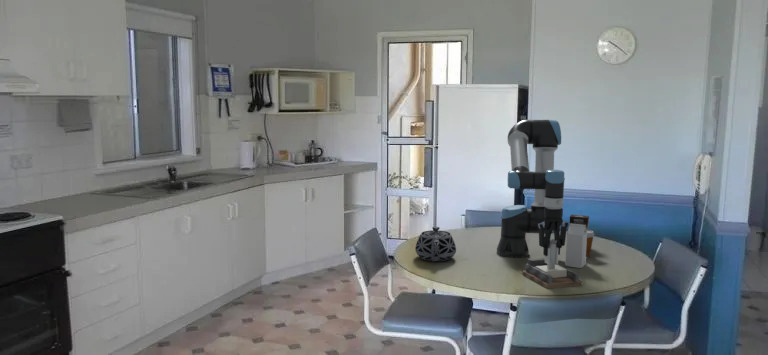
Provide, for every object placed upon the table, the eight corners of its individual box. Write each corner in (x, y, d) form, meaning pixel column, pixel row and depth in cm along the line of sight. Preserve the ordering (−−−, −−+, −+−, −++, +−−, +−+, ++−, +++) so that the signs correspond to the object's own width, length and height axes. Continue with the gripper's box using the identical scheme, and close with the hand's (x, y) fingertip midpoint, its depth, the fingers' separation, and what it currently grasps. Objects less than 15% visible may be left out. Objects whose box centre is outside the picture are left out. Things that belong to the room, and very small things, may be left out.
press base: (522, 274, 269) (522, 259, 268) (555, 271, 274) (555, 256, 273) (546, 288, 250) (547, 272, 249) (581, 285, 255) (582, 269, 254)
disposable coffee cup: (594, 258, 294) (595, 233, 293) (573, 257, 296) (574, 232, 295) (592, 253, 304) (593, 229, 302) (571, 252, 306) (572, 228, 304)
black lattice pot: (453, 249, 310) (454, 220, 308) (457, 267, 279) (458, 234, 277) (415, 249, 311) (415, 219, 309) (415, 266, 280) (415, 233, 278)
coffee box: (567, 247, 315) (569, 216, 313) (569, 244, 321) (570, 213, 319) (586, 249, 312) (588, 217, 309) (587, 246, 317) (589, 215, 315)
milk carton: (581, 268, 278) (583, 226, 276) (565, 266, 282) (567, 224, 279) (585, 264, 284) (587, 223, 282) (569, 262, 288) (571, 221, 285)
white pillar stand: (535, 273, 264) (536, 238, 262) (556, 271, 267) (557, 237, 265) (545, 278, 257) (546, 242, 255) (566, 276, 260) (568, 241, 258)
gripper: (540, 210, 252) (538, 266, 256) (576, 208, 257) (573, 263, 260) (531, 206, 259) (529, 261, 263) (565, 205, 264) (563, 259, 267)
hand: (551, 262), depth 261 cm, fingers closed on white pillar stand, 3 cm apart
